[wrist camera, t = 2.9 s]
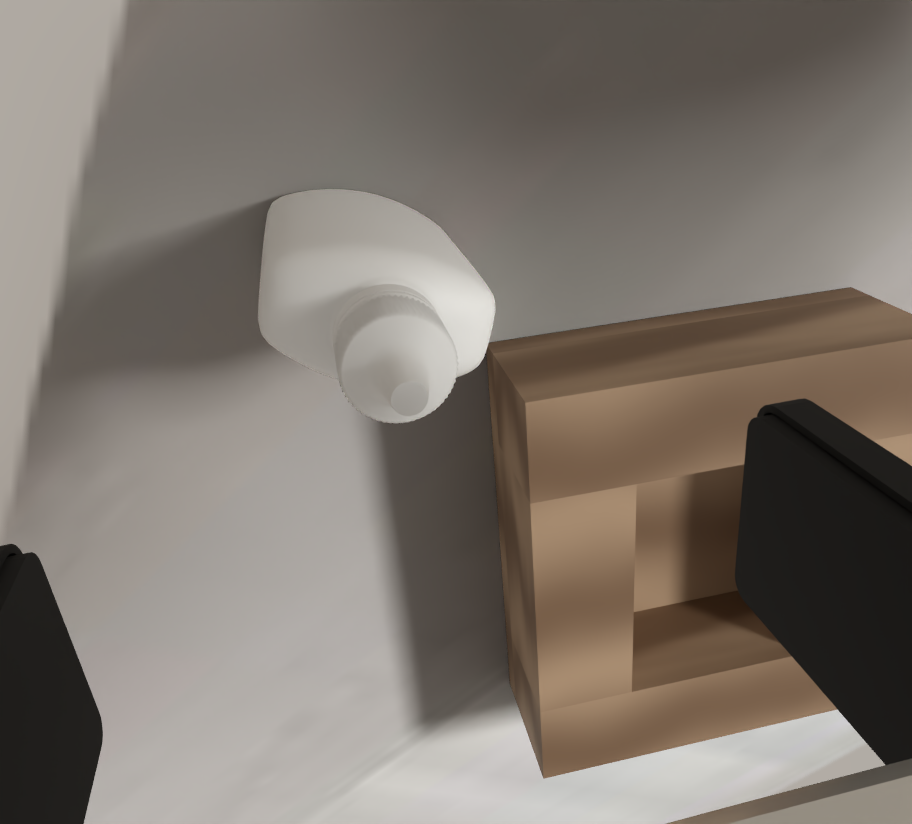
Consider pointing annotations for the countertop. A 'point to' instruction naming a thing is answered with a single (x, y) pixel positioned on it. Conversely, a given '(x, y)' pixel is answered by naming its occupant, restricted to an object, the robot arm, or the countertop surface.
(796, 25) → the countertop surface
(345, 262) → the eye dropper bottle
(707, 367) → the box
